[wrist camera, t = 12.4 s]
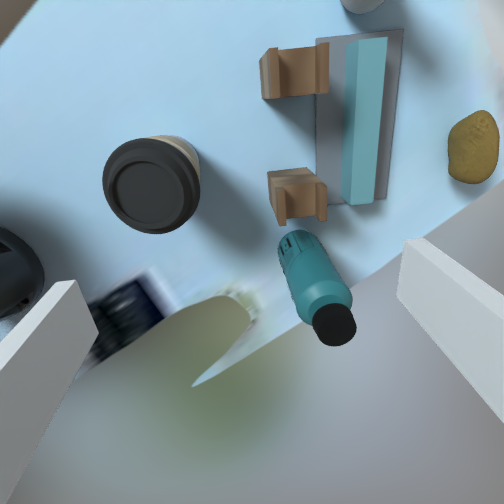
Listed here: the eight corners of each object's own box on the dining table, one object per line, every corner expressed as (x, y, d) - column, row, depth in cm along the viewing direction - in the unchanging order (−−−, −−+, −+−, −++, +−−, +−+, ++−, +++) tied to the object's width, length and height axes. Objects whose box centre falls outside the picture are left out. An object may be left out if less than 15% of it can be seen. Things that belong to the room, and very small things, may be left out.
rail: (340, 196, 43) (350, 205, 40) (346, 45, 35) (359, 39, 32) (361, 194, 44) (373, 202, 40) (371, 42, 35) (387, 36, 32)
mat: (315, 204, 44) (316, 205, 44) (315, 39, 35) (317, 38, 35) (383, 196, 45) (385, 198, 44) (401, 30, 35) (403, 28, 35)
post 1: (261, 98, 38) (271, 98, 29) (259, 60, 36) (268, 48, 27) (305, 93, 38) (328, 92, 29) (304, 55, 36) (329, 41, 27)
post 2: (269, 199, 44) (279, 226, 35) (267, 171, 42) (277, 191, 33) (306, 195, 44) (326, 220, 35) (306, 167, 42) (327, 186, 33)
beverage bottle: (281, 220, 45) (314, 301, 27) (323, 228, 46) (382, 310, 28) (270, 259, 48) (295, 354, 30) (310, 265, 49) (357, 361, 31)
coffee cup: (200, 121, 38) (185, 134, 25) (213, 191, 43) (206, 234, 29) (129, 131, 38) (76, 149, 25) (149, 200, 43) (112, 247, 29)
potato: (447, 182, 44) (489, 199, 37) (414, 150, 42) (452, 161, 35) (488, 141, 42) (541, 151, 35) (455, 105, 40) (505, 106, 32)
